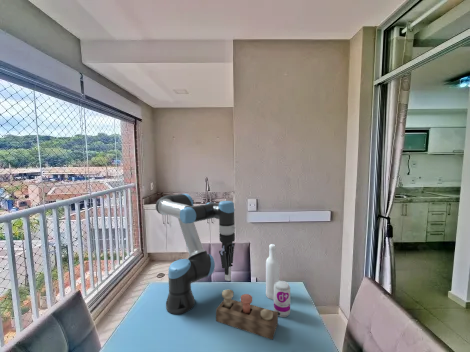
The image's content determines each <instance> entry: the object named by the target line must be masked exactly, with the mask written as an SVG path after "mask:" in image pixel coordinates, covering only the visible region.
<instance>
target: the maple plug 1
mask: <svg viewBox="0 0 470 352" xmlns="http://www.w3.org/2000/svg"><path fill="white" fill-rule="evenodd" d="M221 297H222V298H223V300H224V307H225V308H227V309H229V308H231V306H232V305H231V299H233V297H234V291H233V290H232V289H224V290H222V291H221Z"/></svg>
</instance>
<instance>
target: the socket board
mask: <svg viewBox="0 0 470 352" xmlns="http://www.w3.org/2000/svg"><path fill="white" fill-rule="evenodd" d="M231 305H232V306H231V308H229V309H227V308H225V307H224V299H223V300H222V302H221V303H219V305H218V306H217V307H216V309H215V321H216V322H218V323H220V324H221V323H222V324H224V325H226V326H229V327H233V328H236V329H239V330H242V331H245V332H248V333H251V334H254V335H257V336H260V337H263V338H265V339H270V340H273V339H274V336H275V333H276V330H277V327H278V324H279V320H278V319H279V316H278V312H276V311H274V310H271V309H270V310H271V311H272V312H273V318H272V319H271V321H266V320H263V319H262V318H261V311H262V310H263V309H266V308H264V307H261V306H257V305H253V304H250V313H249V314H244V313H243V303H241V301H239V300H235V299H233V298H231Z"/></svg>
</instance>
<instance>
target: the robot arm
mask: <svg viewBox="0 0 470 352" xmlns="http://www.w3.org/2000/svg"><path fill="white" fill-rule="evenodd" d="M155 210H156V212H157V213H158V214H160V215H162V216H172V217H175V218H176V219H177V220H178V222H179V227H180V229H181V233H182V234H183V235H182V236H183V239H184V242H185V246H186V248H187V252H188V257H187V258H183V259H182V258H179V259H177V260H175V261H173V262H172V263H170V264H169V267H168V272H167V276H168V295H167V299H166V301H165V308H166V311H167V312H168V313H170V314H173V315H179V314H181V315H182V314H185V313H187V312H189V311H190V310H191V309H193V308H194V306H195V297H194V295H193V294H194V293H193V292H192V284H193V283H195V282H197V281H200V280H203V279H204V278H207V277H209V276H212V274H213V273H214V271H215V267H216V264H215V259H214V257H213V255H212V254H211V253H208V252H207V250H205V249H204V247H203V245H202V244H203V243H202V242H201V240H200V239H201V238H200V237H199V236H200V235H199V233H198V230H197V227H196V224H195V223H196V222H201V221H206V220H211V219H216V220H218V225H219V229H218V232H219V233H218V234H219V236H218V237H219V242H221V250H219V251H218V254H219V255H220V257H219V258H220V262H221V268H222V269H224V280H225V281H228V282H230V281H231V280H232V267H233V266H234V265H233V263H234V253H235V250H234V249H235V244H236V243H235V239H236V238H235V237H236V236H235V229H236V227H235V211H236V210H235V203H234V202H233V201H232V200H222V201H219V202H218V203H216V202H210V201H209V202H207V203H205V204H201V205H194V200H193V197H192V196H191V195H190V194H188V193H179V194H172V195H171V194H170V195H164V196H162V197H160V198H159V199H157V201H156V203H155Z"/></svg>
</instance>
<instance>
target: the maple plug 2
mask: <svg viewBox="0 0 470 352" xmlns="http://www.w3.org/2000/svg"><path fill="white" fill-rule="evenodd" d="M272 311H273V310H272ZM272 311H271V309H268V308H265V309H263V310H262V311H261V318H262V319H263V320H266V321H271V319H272V318H273V312H272Z"/></svg>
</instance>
